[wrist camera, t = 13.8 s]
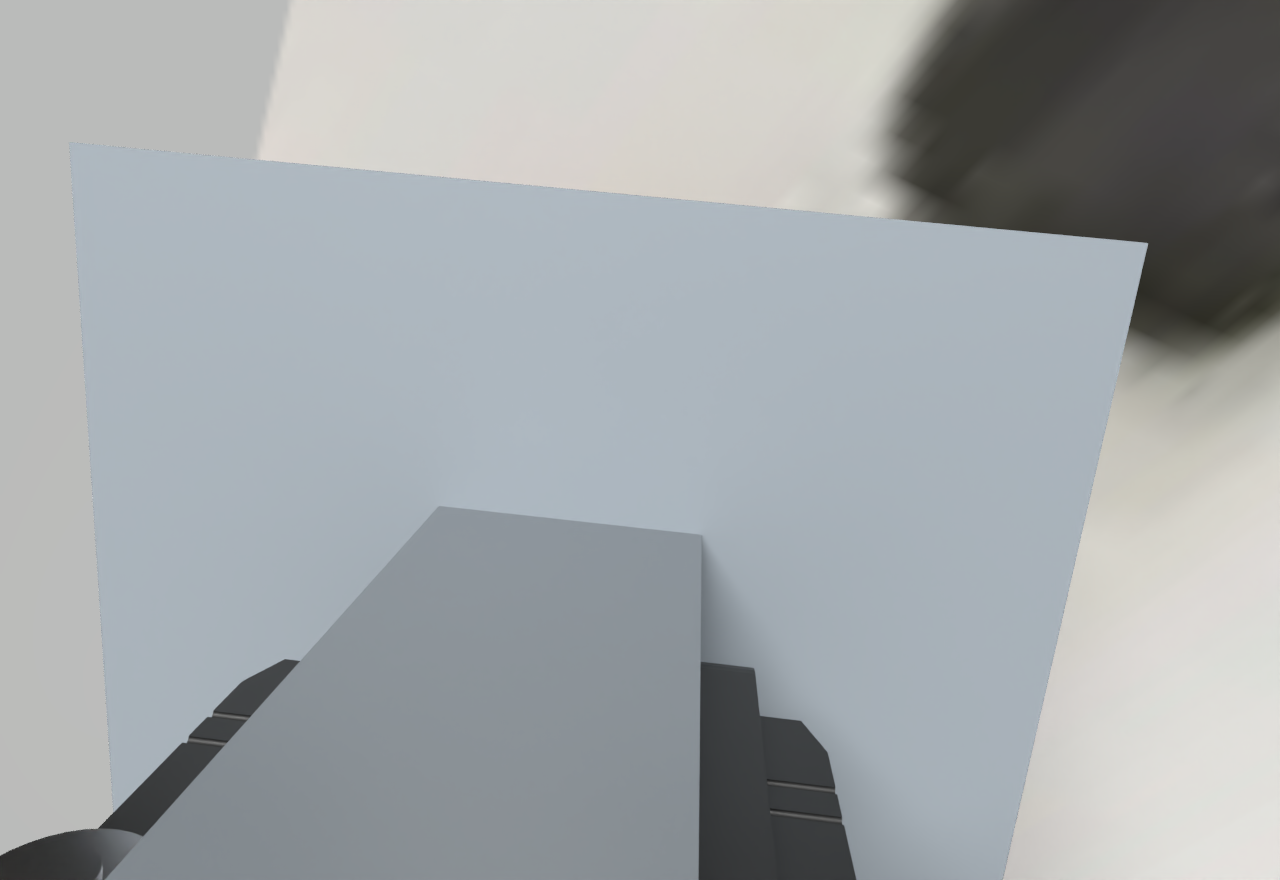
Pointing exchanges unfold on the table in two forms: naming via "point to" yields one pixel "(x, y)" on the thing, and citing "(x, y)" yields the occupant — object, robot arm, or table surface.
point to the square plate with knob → (571, 510)
